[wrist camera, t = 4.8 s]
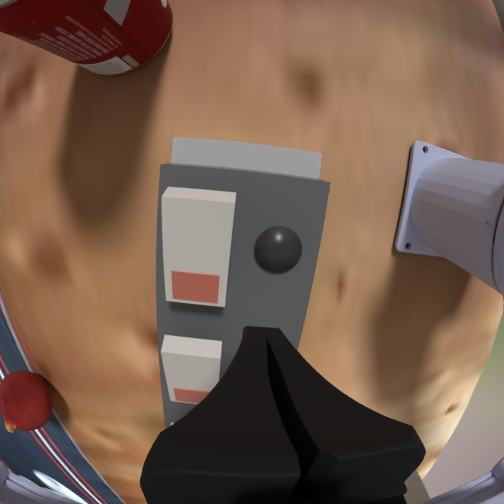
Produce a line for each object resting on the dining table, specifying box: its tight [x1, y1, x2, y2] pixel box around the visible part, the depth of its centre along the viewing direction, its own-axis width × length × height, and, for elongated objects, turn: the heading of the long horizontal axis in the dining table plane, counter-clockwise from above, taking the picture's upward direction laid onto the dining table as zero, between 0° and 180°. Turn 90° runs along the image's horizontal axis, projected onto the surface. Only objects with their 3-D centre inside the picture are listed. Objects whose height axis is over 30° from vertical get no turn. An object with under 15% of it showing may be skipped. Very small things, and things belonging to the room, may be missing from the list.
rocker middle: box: [161, 335, 222, 404], centre depth 17 cm, size 3×6×1 cm, turn 173°
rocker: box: [162, 187, 236, 307], centre depth 15 cm, size 3×6×1 cm, turn 173°
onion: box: [0, 370, 52, 433], centre depth 19 cm, size 6×6×8 cm
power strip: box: [156, 137, 330, 428], centre depth 20 cm, size 9×27×4 cm, turn 173°
